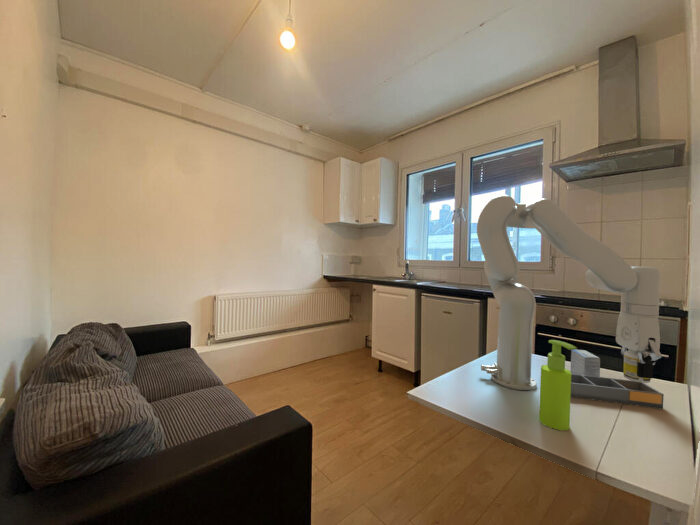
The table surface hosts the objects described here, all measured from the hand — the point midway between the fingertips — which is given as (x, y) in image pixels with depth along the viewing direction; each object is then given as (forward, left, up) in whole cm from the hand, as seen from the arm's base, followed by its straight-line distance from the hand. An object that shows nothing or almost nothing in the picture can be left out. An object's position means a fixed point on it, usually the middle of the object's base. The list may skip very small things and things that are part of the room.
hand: (636, 372), depth 79 cm
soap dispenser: (-28, -21, -8) cm, 36 cm away
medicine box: (-7, +12, -8) cm, 16 cm away
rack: (-8, 0, -8) cm, 11 cm away
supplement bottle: (0, 0, -2) cm, 2 cm away
